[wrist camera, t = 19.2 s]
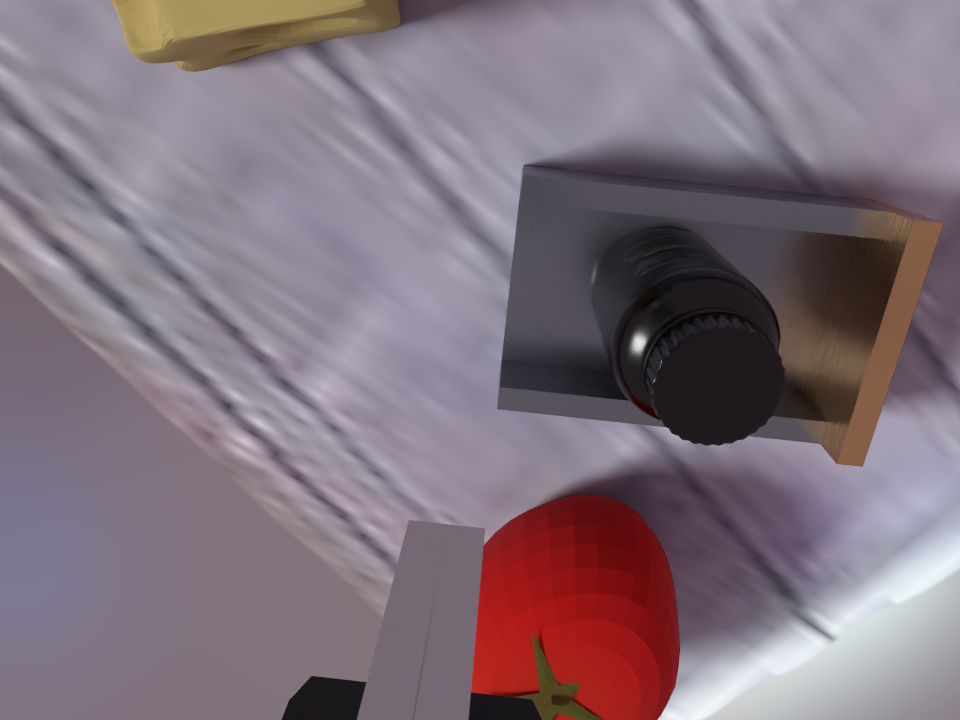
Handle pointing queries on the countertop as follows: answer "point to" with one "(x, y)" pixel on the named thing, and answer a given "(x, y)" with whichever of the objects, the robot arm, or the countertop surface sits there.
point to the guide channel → (750, 249)
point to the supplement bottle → (689, 337)
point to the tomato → (578, 613)
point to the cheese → (242, 27)
